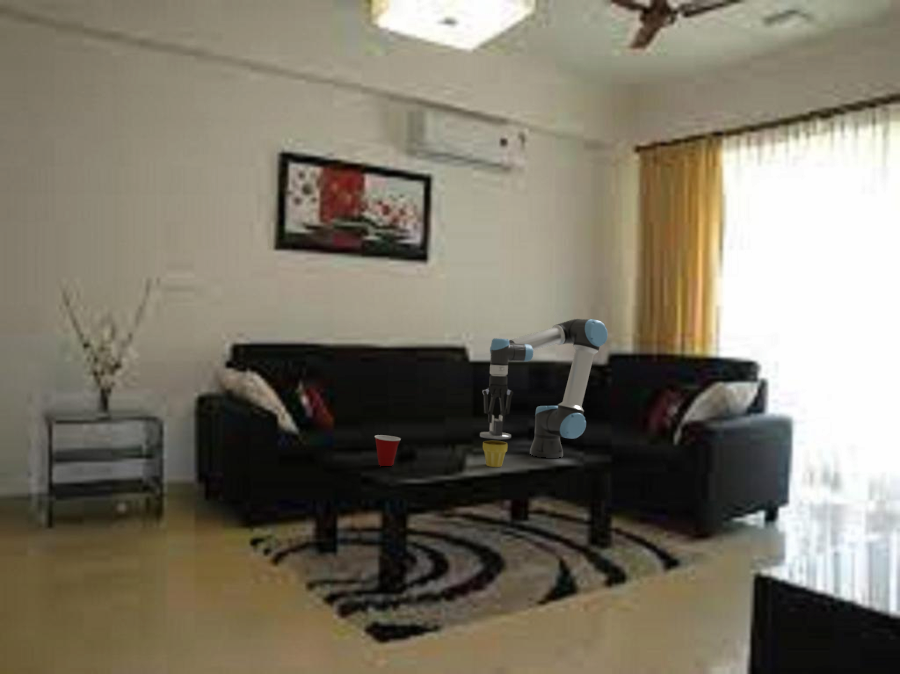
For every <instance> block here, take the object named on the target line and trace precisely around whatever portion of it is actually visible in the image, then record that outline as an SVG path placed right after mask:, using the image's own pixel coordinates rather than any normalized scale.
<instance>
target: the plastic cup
mask: <svg viewBox="0 0 900 674" xmlns="http://www.w3.org/2000/svg"><path fill="white" fill-rule="evenodd" d="M374 438H375V439H374V440H375V445H376V446H375V447H376V455H377V462H378V466H379V465H380V466H379V467H381V466H392V465H393V466H394V464H395V458H396V455H397V450H398V447H399V444H400V441H401V439H402V438H401V437H398V436H393V435H383V434H380V435H379V434H377V435H374ZM393 466H392V467H393Z"/></svg>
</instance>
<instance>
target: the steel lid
mask: <svg viewBox="0 0 900 674" xmlns="http://www.w3.org/2000/svg"><path fill="white" fill-rule="evenodd" d="M503 424H504V423H503V421H501V420H499V418H495V417H494V427H493V431H490V427H489V431H481V432H479V437H480V438H482V439H483V438H484V439H488V440H510V439H512V434H510V433H506V432H503V429H504V428H503V426H504V425H503Z"/></svg>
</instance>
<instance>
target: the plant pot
mask: <svg viewBox="0 0 900 674" xmlns="http://www.w3.org/2000/svg"><path fill="white" fill-rule="evenodd" d="M508 446H509V445H508V442H505V441H501V440H485V441H483V442H482V450H483V453H484V458H485V465H486V466H487V467H492V468H500V467H502V466H503V463H504V459H505V456H506V452H508Z"/></svg>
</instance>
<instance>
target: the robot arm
mask: <svg viewBox="0 0 900 674" xmlns="http://www.w3.org/2000/svg"><path fill="white" fill-rule="evenodd" d="M608 333H609V332H608V328H606V325H605V323H603V321H600V320H597V319H593V318H589V319H587V318H584V319H583V318H574V319H570V320H566V321H563V322H560V323H558V324H553V325H552V327H551V328H547V329H544V330H539V331H536V332H533V333H530V334H527V335H526V334H525V335H523V336H519V337H518V336H517V337H516V338H515V337H514V338H511V339H508V338H492V339H491V344H490V347H489V354H490V359H489V361H490V366H489V374H490V376H489V381H488V382H489V383H488V384H489V385H488V387H487V388H486V389H482V390H481V393H482V394H483V413H484V414H486V415H487V421H488V423H489V428H490V431H493V427H494V418H495V415H494V414H493V413H494V408H495V403H496V399H497V398H498V400H499V408H500V414H499V415H498V419H499V420H501V421H503V424H504V423H505V420H506V419H505V418H506V415H509V414H510V411H511V404H512V403H511V402H512V397H513V395H514V391H512V390H510V389H509V388H508V376H507V375H508V374H509V373H508V371H509V370H508V369H509V362H523V363H524V362H525V363H526V362H530V361H531V360H532V359H533V357H534V351H536V350H537V351H538V350H539V349H544V348H546V347H550V346H554V345H558V346H562V345H567V344H570V345H572V346H573V348H574V355H573V357H572V358H573V359H572V362H571V367H570V371H569V374H568V380H567V383H566V387H565V391H564V394H563V399H562V402H560V403H558V404H557V405H540V406H537V407H536V409H535V415H534V417H535V419H534V438H533V441H532V444H531V446H530V449H529V455H530V454H531V455H530V456H532V455H533V456H532V457H535V456H537V457H536V458H541V457H546V458H545V459H560V458H559V457H561V458H564V457H563V456H564V450H563V446H562V444H561V443H562V442H561V437H562V438H565V439H577V438H579V437H580V436H582V435H583V433H584V432H585V430H586V427H587V421H586V417H585V416H584V412H585V410H584V409H583V407H582V406H583V402H584V398H585V394H586V389H587V386H588V381H589V376H590V373H591V370H592V369H591V368H592V364H593V361H594V357H595V355H596V354H597V353H599V352H600V351H599V350H600V347H602V346H603V345H605V344H606V342H607V340H608V337H609V335H608ZM489 393H490V402H489ZM505 395H506V401H505Z"/></svg>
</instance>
